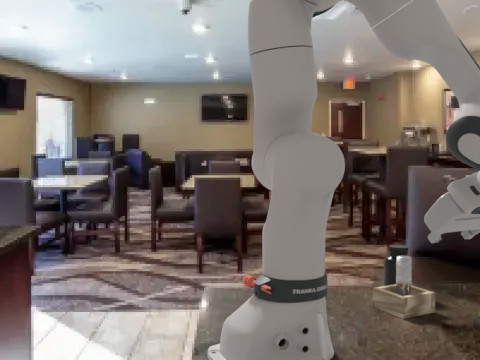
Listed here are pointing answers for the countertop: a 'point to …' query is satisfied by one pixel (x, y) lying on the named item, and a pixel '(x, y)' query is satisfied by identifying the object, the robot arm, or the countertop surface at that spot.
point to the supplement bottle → (393, 263)
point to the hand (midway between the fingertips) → (448, 238)
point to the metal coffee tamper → (403, 275)
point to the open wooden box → (404, 301)
